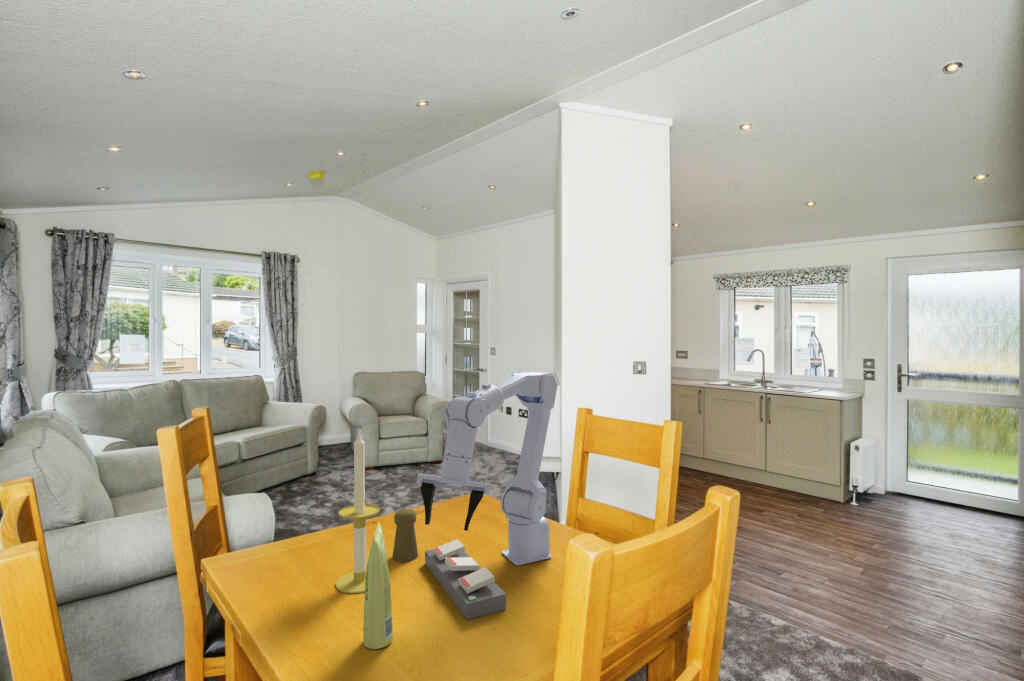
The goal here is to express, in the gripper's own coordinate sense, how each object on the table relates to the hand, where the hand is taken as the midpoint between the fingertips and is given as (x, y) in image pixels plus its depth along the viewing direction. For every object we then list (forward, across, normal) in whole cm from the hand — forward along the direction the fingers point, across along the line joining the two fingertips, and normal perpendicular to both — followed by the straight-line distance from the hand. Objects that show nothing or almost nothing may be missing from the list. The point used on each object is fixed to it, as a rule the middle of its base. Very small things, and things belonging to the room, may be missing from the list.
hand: (446, 526), depth 99 cm
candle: (+16, -17, +12) cm, 26 cm away
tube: (+19, -8, -9) cm, 22 cm away
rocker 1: (+8, 0, +16) cm, 18 cm away
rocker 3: (+9, +7, +2) cm, 12 cm away
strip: (+13, +4, +10) cm, 17 cm away
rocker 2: (+8, +4, +9) cm, 13 cm away
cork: (+12, -10, +24) cm, 29 cm away
